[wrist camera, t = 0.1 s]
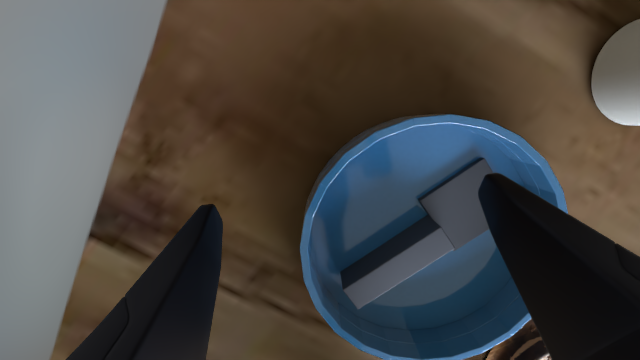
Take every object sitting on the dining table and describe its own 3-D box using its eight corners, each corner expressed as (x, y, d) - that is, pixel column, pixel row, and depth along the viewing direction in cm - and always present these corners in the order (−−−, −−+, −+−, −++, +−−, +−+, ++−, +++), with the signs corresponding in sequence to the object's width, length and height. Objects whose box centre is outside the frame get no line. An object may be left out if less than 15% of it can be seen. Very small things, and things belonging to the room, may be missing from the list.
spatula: (480, 156, 24) (501, 162, 22) (512, 209, 25) (536, 221, 23) (328, 257, 26) (330, 274, 23) (364, 303, 27) (369, 324, 24)
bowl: (569, 254, 27) (612, 278, 23) (383, 365, 29) (394, 404, 25) (458, 63, 23) (487, 52, 19) (256, 206, 26) (245, 223, 22)
